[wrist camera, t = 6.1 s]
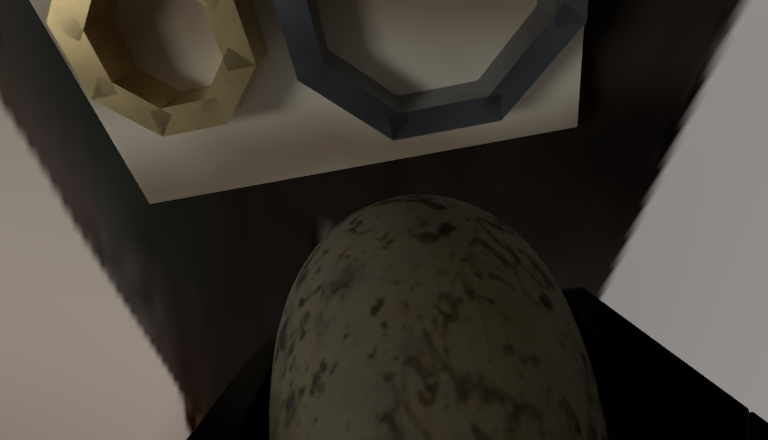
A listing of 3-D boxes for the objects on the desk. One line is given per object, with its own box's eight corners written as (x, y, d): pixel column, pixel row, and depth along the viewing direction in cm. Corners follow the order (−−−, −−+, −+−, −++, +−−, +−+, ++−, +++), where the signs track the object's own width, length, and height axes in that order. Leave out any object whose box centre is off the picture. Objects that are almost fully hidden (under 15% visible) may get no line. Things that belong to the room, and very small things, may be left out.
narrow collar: (286, 93, 17) (273, 115, 15) (148, 120, 18) (118, 145, 16) (228, -87, 14) (202, -90, 12) (61, -46, 15) (8, -42, 12)
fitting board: (566, 116, 19) (577, 126, 18) (161, 190, 20) (150, 203, 19) (590, -343, 11) (610, -369, 10) (-40, -166, 13) (-74, -174, 12)
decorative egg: (554, 164, 11) (1170, 988, 2) (477, 323, 14) (627, 898, 6) (315, 121, 10) (20, 1126, 2) (294, 301, 13) (165, 927, 5)
